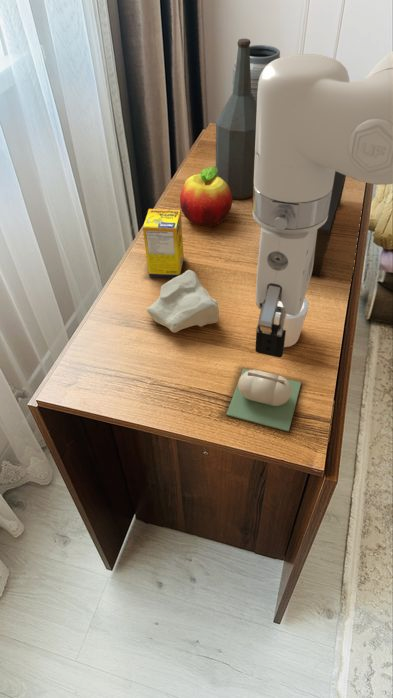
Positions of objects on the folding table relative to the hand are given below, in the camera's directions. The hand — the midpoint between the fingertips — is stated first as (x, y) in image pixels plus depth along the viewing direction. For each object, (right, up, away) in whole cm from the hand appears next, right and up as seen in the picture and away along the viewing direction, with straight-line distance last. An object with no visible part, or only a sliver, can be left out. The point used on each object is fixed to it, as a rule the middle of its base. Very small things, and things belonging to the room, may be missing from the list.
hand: (278, 325), depth 61 cm
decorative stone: (-12, +2, +23) cm, 27 cm away
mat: (0, -10, +11) cm, 15 cm away
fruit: (-8, +24, +44) cm, 51 cm away
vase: (+4, +46, +64) cm, 79 cm away
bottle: (-1, +34, +52) cm, 62 cm away
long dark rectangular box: (+12, +21, +40) cm, 46 cm away
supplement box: (-16, +12, +33) cm, 39 cm away
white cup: (+4, -1, +20) cm, 21 cm away
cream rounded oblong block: (0, -10, +11) cm, 15 cm away
